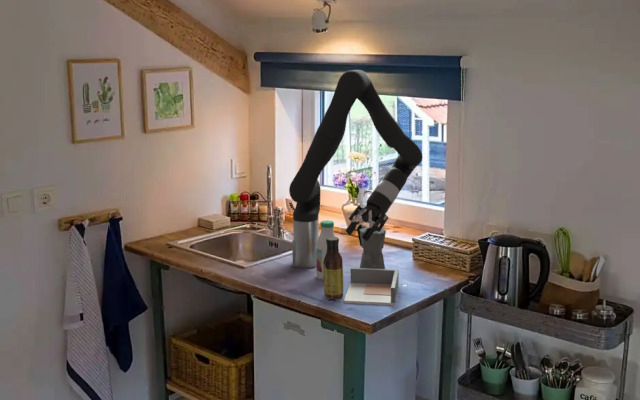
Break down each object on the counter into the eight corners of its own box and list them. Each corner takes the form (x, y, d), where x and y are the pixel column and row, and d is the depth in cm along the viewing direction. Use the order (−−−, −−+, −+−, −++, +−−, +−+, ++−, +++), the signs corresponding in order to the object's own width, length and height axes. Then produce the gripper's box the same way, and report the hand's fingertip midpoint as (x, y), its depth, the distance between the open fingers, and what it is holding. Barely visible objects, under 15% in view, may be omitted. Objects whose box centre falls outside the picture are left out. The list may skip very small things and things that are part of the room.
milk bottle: (340, 274, 258) (340, 219, 254) (336, 281, 251) (335, 225, 246) (319, 272, 260) (318, 218, 255) (314, 280, 253) (313, 224, 248)
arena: (343, 303, 231) (343, 285, 230) (351, 283, 248) (351, 267, 247) (394, 305, 228) (394, 287, 227) (398, 286, 245) (398, 269, 244)
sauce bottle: (331, 292, 241) (330, 233, 236) (347, 295, 237) (347, 236, 233) (319, 298, 235) (319, 238, 231) (336, 301, 232) (335, 241, 227)
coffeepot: (394, 272, 259) (394, 223, 255) (373, 278, 254) (373, 227, 250) (368, 262, 271) (368, 215, 267) (347, 266, 266) (347, 218, 262)
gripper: (363, 186, 245) (336, 225, 241) (391, 193, 233) (363, 234, 229) (375, 199, 249) (348, 238, 245) (403, 207, 238) (376, 247, 234)
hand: (355, 236), depth 237 cm, fingers open, 8 cm apart
